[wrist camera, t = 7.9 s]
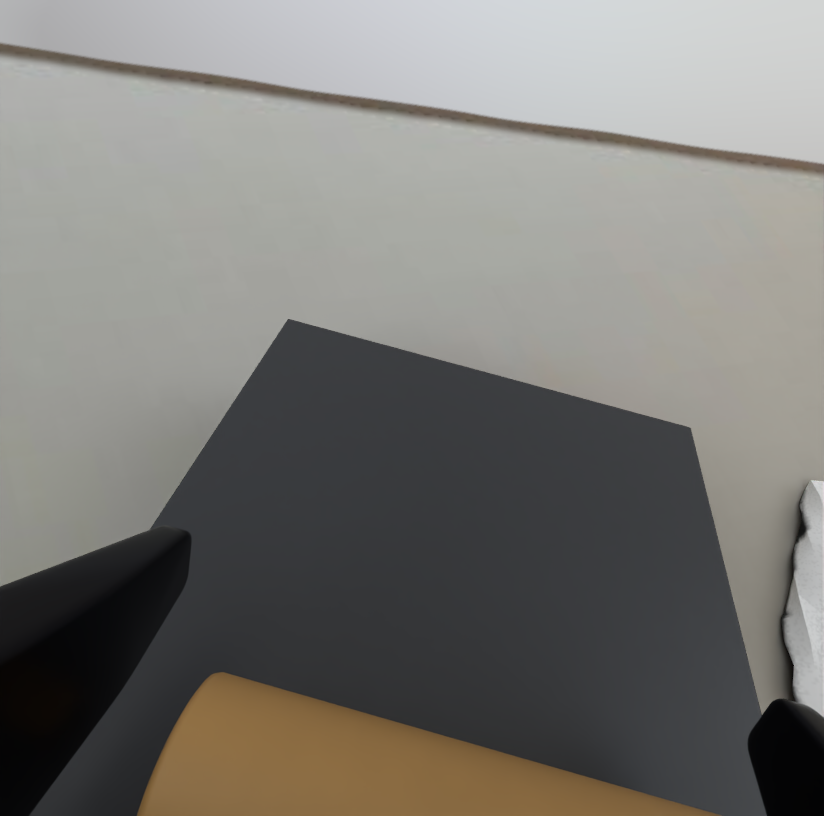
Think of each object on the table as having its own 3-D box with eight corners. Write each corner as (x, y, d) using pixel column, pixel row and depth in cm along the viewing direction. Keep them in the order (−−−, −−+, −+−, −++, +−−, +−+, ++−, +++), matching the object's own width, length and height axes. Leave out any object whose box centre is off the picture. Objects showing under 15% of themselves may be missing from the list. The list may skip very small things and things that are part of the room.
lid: (849, 1252, 6) (1773, 1945, 2) (-103, 961, 6) (-718, 1139, 3) (675, 443, 15) (801, 308, 11) (288, 338, 15) (283, 171, 12)
